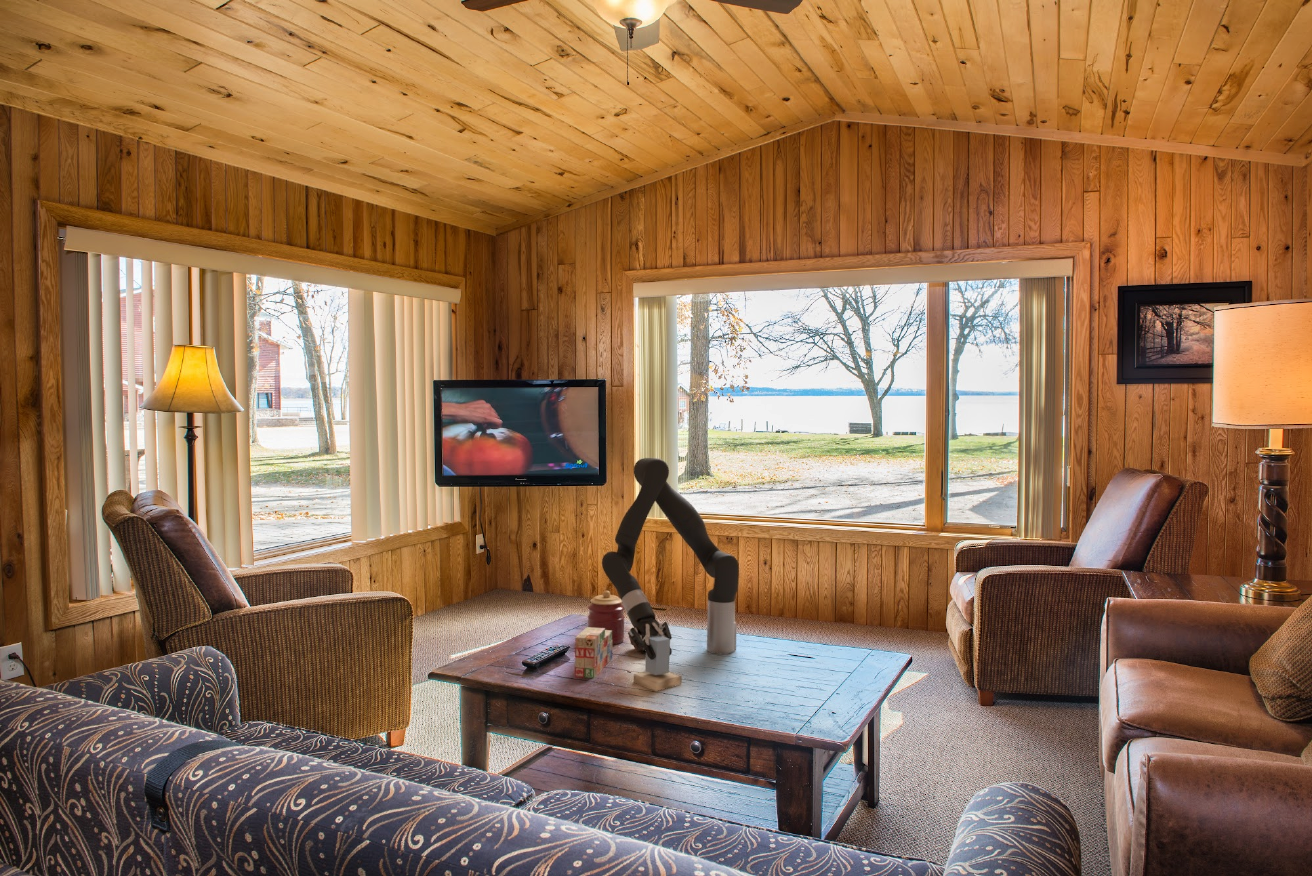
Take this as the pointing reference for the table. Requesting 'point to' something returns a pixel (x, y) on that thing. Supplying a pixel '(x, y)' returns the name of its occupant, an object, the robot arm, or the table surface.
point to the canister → (607, 615)
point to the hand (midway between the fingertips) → (661, 656)
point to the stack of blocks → (592, 651)
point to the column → (658, 656)
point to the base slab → (657, 680)
